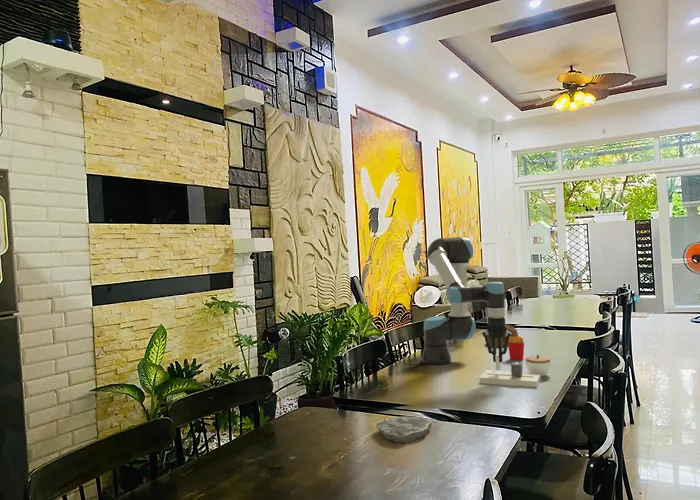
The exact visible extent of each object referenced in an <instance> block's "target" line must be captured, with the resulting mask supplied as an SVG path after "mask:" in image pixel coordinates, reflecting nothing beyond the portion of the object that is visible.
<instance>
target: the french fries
mask: <svg viewBox="0 0 700 500" xmlns="http://www.w3.org/2000/svg"><path fill="white" fill-rule="evenodd" d="M507 349H508V354H509V359H510V360H511V361H523V360H524V356H525V355H524V354H525V353H524V351H525V342H524V337H522V336H519V335H518V337H515V336H514V337H512V336H510V338H509V343H508V347H507Z"/></svg>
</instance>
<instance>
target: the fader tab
mask: <svg viewBox="0 0 700 500" xmlns="http://www.w3.org/2000/svg"><path fill="white" fill-rule="evenodd" d="M510 369H511V370H510V372H511V374H512V376H520V377H521V376H522V374H523V372H524V371H523V362H520V361H517V362H516V361H512V362H511V364H510Z"/></svg>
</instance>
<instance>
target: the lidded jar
mask: <svg viewBox="0 0 700 500" xmlns="http://www.w3.org/2000/svg"><path fill="white" fill-rule="evenodd" d="M525 366H526V369H527V372H528V373H540V374H541V376H543V377H546V376H545V375H547V374H548V373H549V371H550V369H551V358H550V357H548V356H544V355H540V354H539V353H538V354H536V355H529V356H526V357H525Z"/></svg>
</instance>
